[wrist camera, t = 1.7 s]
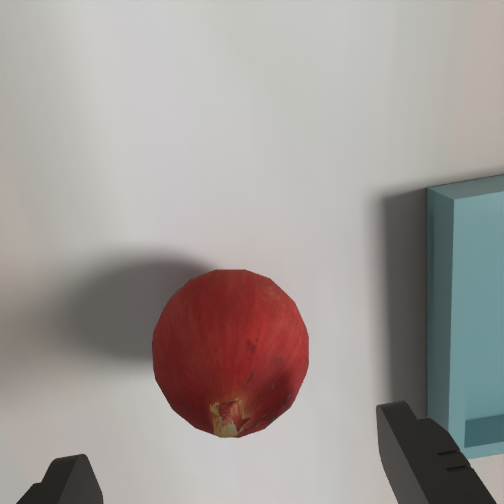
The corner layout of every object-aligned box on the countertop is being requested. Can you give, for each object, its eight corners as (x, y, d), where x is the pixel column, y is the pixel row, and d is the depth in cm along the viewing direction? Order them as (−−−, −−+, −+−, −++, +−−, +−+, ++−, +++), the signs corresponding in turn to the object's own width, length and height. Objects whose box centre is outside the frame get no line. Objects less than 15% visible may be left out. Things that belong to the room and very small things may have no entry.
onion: (318, 300, 19) (377, 433, 11) (231, 373, 20) (232, 537, 13) (231, 215, 17) (233, 306, 10) (141, 301, 18) (81, 439, 11)
